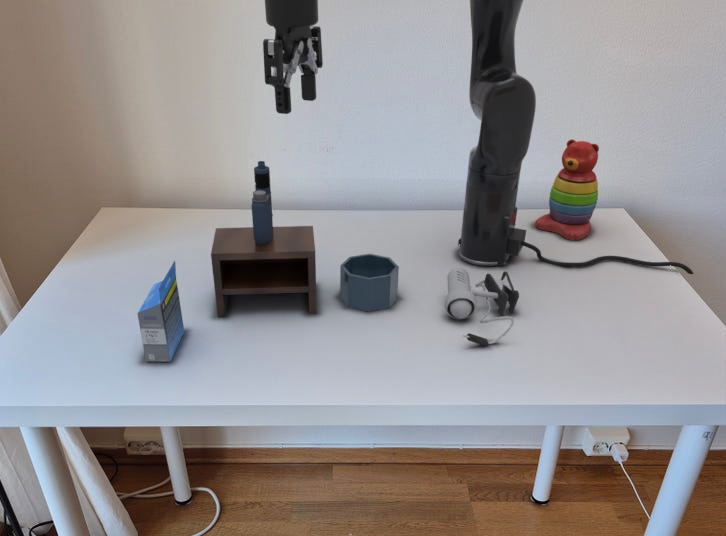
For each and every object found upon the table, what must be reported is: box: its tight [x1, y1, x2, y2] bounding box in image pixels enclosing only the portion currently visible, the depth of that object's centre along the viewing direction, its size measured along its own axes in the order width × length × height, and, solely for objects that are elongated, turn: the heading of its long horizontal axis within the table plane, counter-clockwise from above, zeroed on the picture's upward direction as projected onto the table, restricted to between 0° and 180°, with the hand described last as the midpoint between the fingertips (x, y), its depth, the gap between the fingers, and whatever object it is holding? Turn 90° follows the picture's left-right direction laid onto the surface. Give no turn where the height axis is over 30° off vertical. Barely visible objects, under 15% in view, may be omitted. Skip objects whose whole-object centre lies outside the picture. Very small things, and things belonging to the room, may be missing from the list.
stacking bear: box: [534, 139, 600, 241], centre depth 141 cm, size 11×10×18 cm
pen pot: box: [339, 253, 400, 313], centre depth 118 cm, size 9×9×6 cm
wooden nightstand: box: [210, 225, 318, 318], centre depth 115 cm, size 16×10×11 cm, turn 95°
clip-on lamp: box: [444, 266, 520, 347], centre depth 112 cm, size 12×6×18 cm
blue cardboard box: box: [136, 260, 185, 363], centre depth 103 cm, size 9×4×12 cm, turn 178°
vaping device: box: [250, 160, 274, 245], centre depth 109 cm, size 3×5×12 cm, turn 174°
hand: (297, 106), depth 108 cm, fingers open, 8 cm apart
